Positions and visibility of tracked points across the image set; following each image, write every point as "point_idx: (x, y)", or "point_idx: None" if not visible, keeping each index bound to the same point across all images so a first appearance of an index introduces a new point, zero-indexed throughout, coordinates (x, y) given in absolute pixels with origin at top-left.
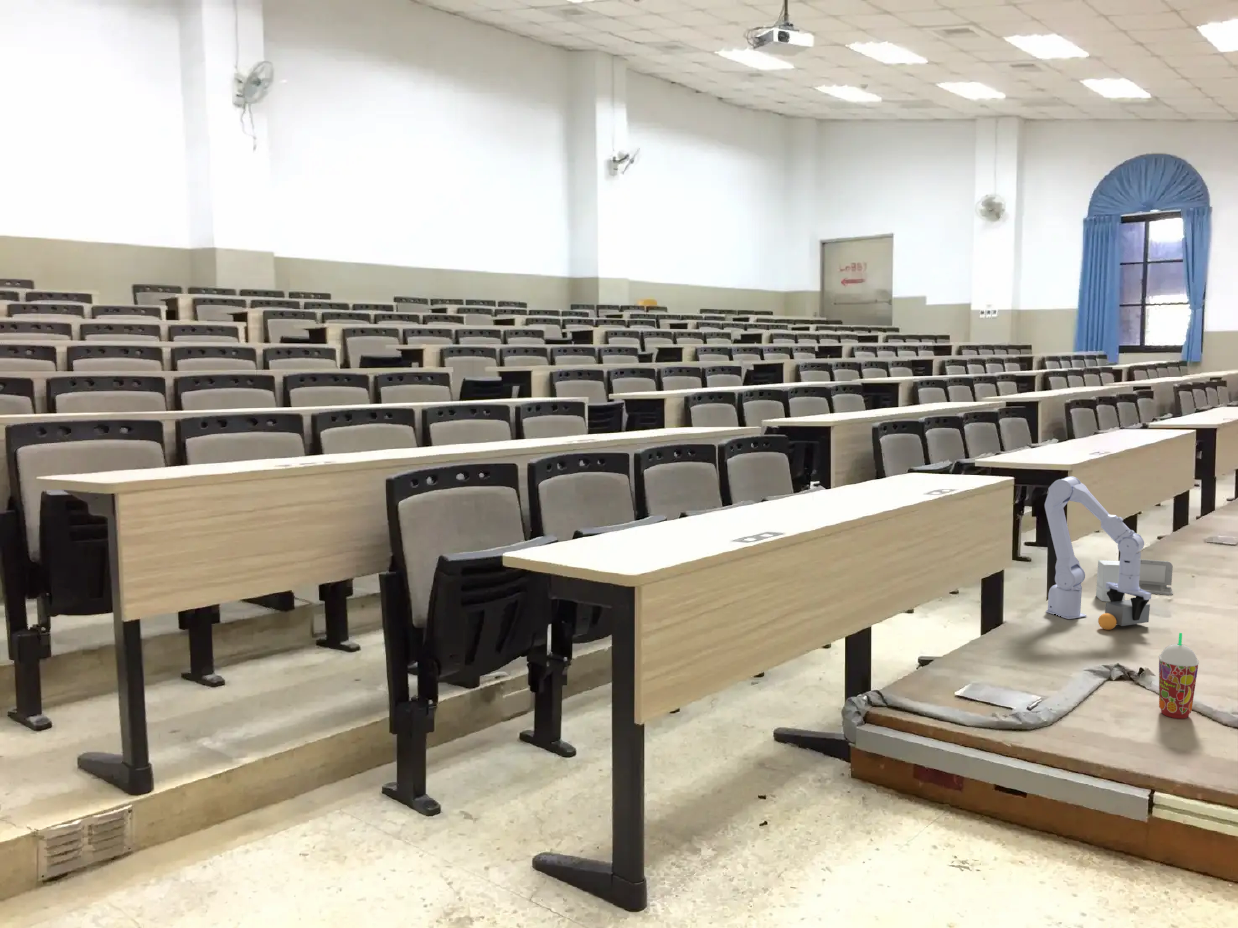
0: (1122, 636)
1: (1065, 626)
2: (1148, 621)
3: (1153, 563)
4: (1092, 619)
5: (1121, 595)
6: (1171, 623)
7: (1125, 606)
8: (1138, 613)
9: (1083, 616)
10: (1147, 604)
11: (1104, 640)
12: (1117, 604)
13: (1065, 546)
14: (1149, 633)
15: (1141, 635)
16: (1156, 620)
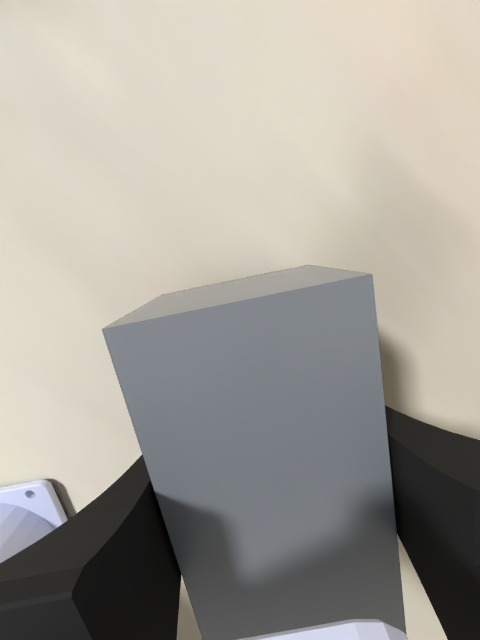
0: None
1: (192, 633)
2: (309, 265)
3: None
4: (102, 475)
5: (130, 568)
6: (290, 18)
7: (370, 595)
8: None
9: (58, 503)
10: (369, 315)
11: (412, 603)
12: (290, 619)
13: None
14: (415, 358)
15: (424, 421)
16: (191, 83)
